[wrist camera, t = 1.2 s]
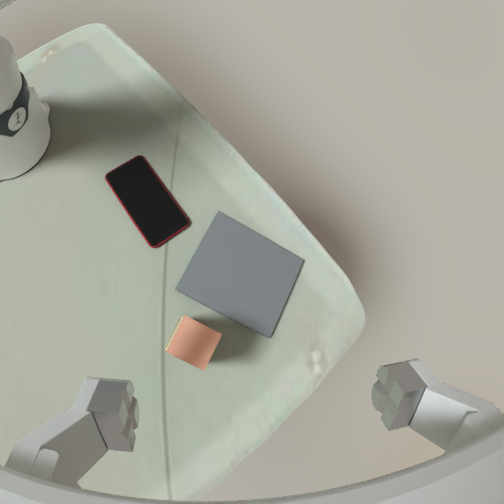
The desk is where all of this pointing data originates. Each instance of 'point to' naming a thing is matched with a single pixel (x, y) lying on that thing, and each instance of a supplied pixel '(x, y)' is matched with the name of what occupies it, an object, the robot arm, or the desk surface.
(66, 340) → the desk surface
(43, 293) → the desk surface
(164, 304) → the desk surface
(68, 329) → the desk surface
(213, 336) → the beech block
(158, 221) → the smartphone
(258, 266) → the rubber mat
